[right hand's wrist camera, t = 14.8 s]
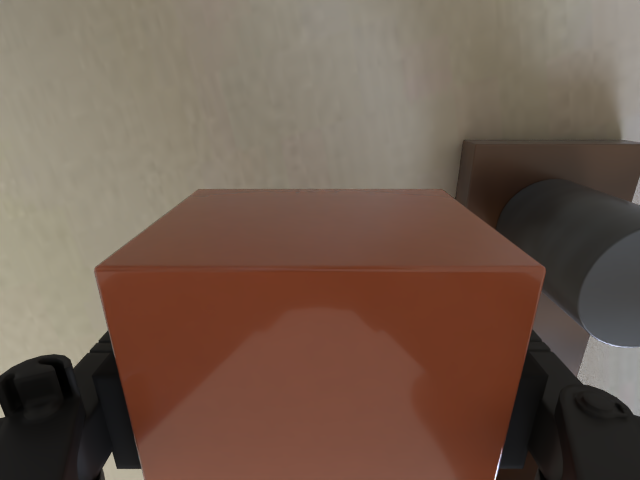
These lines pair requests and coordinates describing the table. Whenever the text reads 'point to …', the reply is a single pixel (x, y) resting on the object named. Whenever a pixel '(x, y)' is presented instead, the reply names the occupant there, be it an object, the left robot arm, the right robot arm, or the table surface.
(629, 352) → the table surface
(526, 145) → the walnut stand
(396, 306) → the terracotta cap
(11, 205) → the table surface
